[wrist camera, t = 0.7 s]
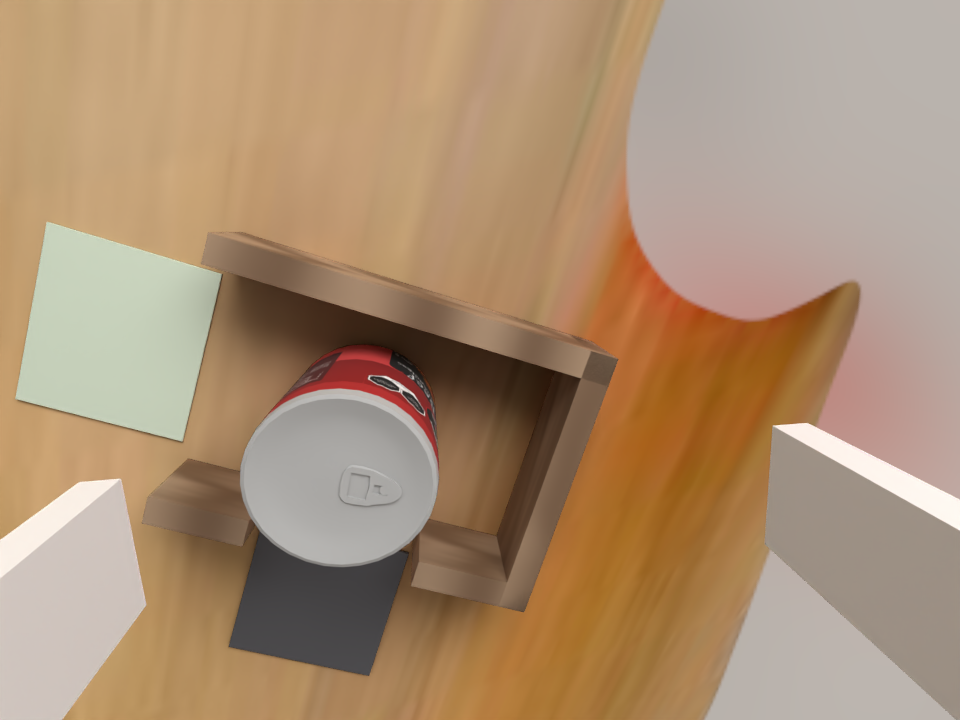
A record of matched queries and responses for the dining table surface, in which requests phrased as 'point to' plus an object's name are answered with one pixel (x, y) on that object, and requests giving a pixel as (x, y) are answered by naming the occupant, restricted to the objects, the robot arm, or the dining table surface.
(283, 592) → the mat
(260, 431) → the canned food
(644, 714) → the dining table surface
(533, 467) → the wooden walled channel
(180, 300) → the pad
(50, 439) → the dining table surface
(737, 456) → the dining table surface
